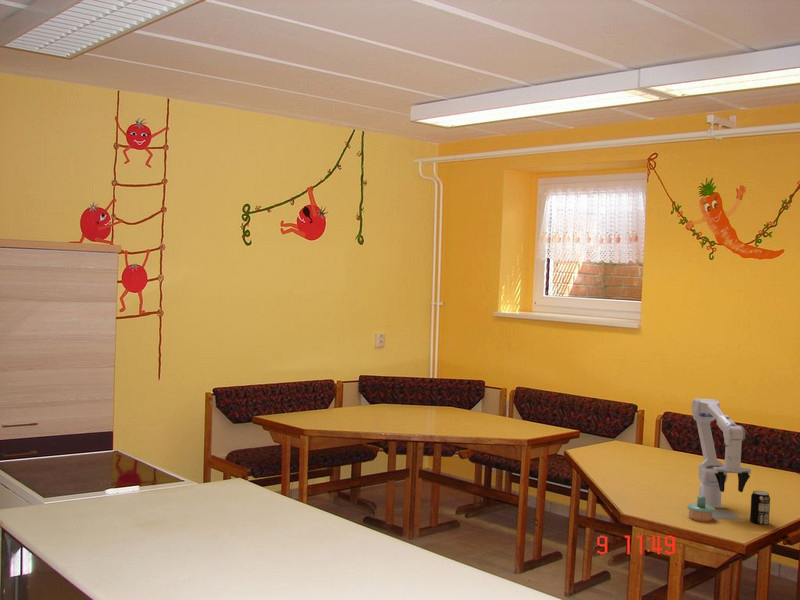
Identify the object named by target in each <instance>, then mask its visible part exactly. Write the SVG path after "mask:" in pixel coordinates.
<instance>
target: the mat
mask: <svg viewBox="0 0 800 600" xmlns="http://www.w3.org/2000/svg"><path fill="white" fill-rule="evenodd" d="M712 520H743V518H742V517H740V516H738V515H737V514H734V512H731V511H730V510H728V509H725V508H724V509H723V508H715V512H712Z"/></svg>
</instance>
